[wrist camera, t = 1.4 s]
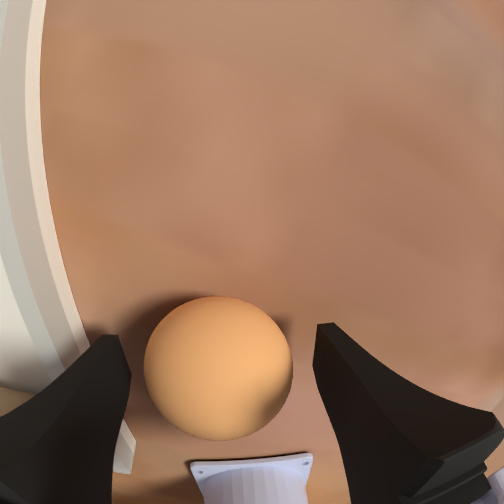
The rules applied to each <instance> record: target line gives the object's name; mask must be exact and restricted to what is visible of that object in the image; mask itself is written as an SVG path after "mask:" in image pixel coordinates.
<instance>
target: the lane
mask: <svg viewBox="0 0 504 504" xmlns="http://www.w3.org/2000/svg"><path fill="white" fill-rule="evenodd" d="M45 6H46V0H0V386H1V387H5V388H9V389H14V390H18V391H23V392H28V393H33V394H38V393H39V392H41V391H42V390H43V389H44V388H46V387H47V386H48V385H49V384H51V383H52V382H53V381H54V380H55V379H56V378H57V377H58V376H60V375H61V374H62V373H63V372H64V371H65V370H66V369H67V368H68V367H70V366H71V365H72V364H73V363H74V362H75V361H76V360H77V359H78V358H79V357H80V356H81V355H82V354H83V353H84V352H85V351H86V350H87V349H88V348H89V347H90V344H89V341H88V339H87V336H86V333H85V331H84V328H83V325H82V322H81V319H80V317H79V314H78V311H77V308H76V305H75V302H74V298H73V295H72V292H71V289H70V285H69V282H68V279H67V275H66V272H65V268H64V264H63V260H62V256H61V252H60V248H59V244H58V240H57V236H56V231H55V226H54V221H53V216H52V211H51V206H50V200H49V194H48V188H47V181H46V174H45V166H44V157H43V147H42V136H41V120H40V57H41V42H42V30H43V21H44V13H45ZM135 446H136V440H135V439H134V437H133V435H132V433H131V431H130V430H129V428H128V426H127V424H126V422H125V420H124V418H123V420H122V424H121V428H120V432H119V435H118V439H117V443H116V448H115V454H114V463H113V470H114V472H117V473H125V474H131V469H132V463H133V457H134V451H135Z"/></svg>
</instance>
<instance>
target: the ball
mask: <svg viewBox="0 0 504 504" xmlns="http://www.w3.org/2000/svg"><path fill="white" fill-rule="evenodd" d="M144 378H145V383H146V387H147V390H148V393H149V395H150V397H151V399H152V401H153V403H154V405H155V406H156V408H157V409H158V411H159V412H160V413H161V414H162V415H163V417H164V418H165V419H167V420H168V421H169V422H170V423H171V424H172V425H173V426H175V427H176V428H178V429H180V430H181V431H183V432H185V433H187V434H189V435H191V436H194V437H197V438H201V439H206V440H212V441H227V440H234V439H238V438H242V437H245V436H248V435H250V434H252V433H254V432H256V431H258V430H260V429H261V428H263V427H264V426H266V425H267V424H268V423H269V422H270V421H271V420H272V419H273V418H274V417H275V416H276V415H277V414H278V413H279V411H280V410H281V408H282V407H283V405H284V403H285V401H286V399H287V397H288V394H289V392H290V388H291V384H292V378H293V362H292V356H291V352H290V348H289V346H288V343H287V341H286V338H285V336H284V335H283V333H282V332H281V330H280V329H279V327H278V326H277V324H276V323H275V322H274V321H273V320H272V319H271V318H270V317H269V316H268V315H267V314H265V313H264V312H263V311H262V310H260V309H258V308H257V307H255V306H253V305H251V304H249V303H247V302H245V301H242V300H239V299H235V298H231V297H223V296H211V297H203V298H198V299H195V300H192V301H189V302H187V303H185V304H183V305H181V306H179V307H177V308H175V309H174V310H173V311H171V312H170V313H169V314H168V315H167V316H166V317H165V318H163V319H162V320H161V322H160V323H159V324H158V325H157V327H156V328H155V330H154V331H153V333H152V335H151V337H150V339H149V342H148V344H147V347H146V351H145V356H144Z"/></svg>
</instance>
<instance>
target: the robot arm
mask: <svg viewBox="0 0 504 504" xmlns="http://www.w3.org/2000/svg"><path fill="white" fill-rule="evenodd" d="M312 366H313V370H314V374H315V379H316V383H317V387H318V390H319V393H320V395H321V398H322V401H323V403H324V406H325V409H326V411H327V414H328V416H329V419H330V421H331V424H332V427H333V429H334V432H335V434H336V437H337V440H338V444H339V447H340V451H341V455H342V459H343V464H344V468H345V473H346V477H347V482H348V487H349V493H350V498H351V504H504V466H503V467H502V468H500V469H499V470H497V471H496V472H494V473H493V474H492V475H490V476H489V477H488V478H486V477H485V475H484V472H485V471H486V470H487V467H486V465H485V463H484V461H485V460H486V459H487V458H488V457H489V455H490V454H491V453H492V452H493V451H494V450H495V449H496V448H497V447H498V445H499V444H500V443H501V442H502V440H503V438H504V428H503V427H502V425H501V424H500V422H499V421H498V420H497V418H496V417H495V415H494V414H493V413H492V412H488V411H484V410H479V409H475V408H471V407H468V406H464V405H461V404H458V403H455V402H453V401H450V400H447V399H445V398H442V397H440V396H437V395H435V394H433V393H431V392H429V391H427V390H425V389H423V388H421V387H419V386H417V385H415V384H413V383H412V382H410V381H408V380H406V379H405V378H403V377H401V376H400V375H398V374H397V373H395V372H394V371H392V370H391V369H389V368H388V367H387V366H385V365H384V364H382V363H381V362H380V361H378V360H377V359H376V358H374V357H373V356H372V355H371V354H369V353H368V352H367V351H366V350H365V349H363V348H362V347H361V346H360V345H359V344H357V343H356V342H355V341H354V340H353V339H352V338H351V337H349V336H348V335H347V334H346V333H345V332H344V331H343V330H342V329H340V328H339V327H338V326H337V325H336V324H335V323H334V322H333V323H325V324H317V332H316V341H315V349H314V357H313V365H312ZM131 375H132V374H131V372H130V369H129V366H128V363H127V361H126V358H125V355H124V352H123V349H122V346H121V343H120V340H119V337H118V335H102V336H101V337H100V338H99V339H97V340H96V341H95V342H94V343H93V344H92V345H91V346H90V347H89V348H88V349H87V350H86V351H85V352H84V353H83V354H82V355H81V356H80V357H79V358H78V359H77V360H76V361H75V362H74V363H73V364H72V365H71V366H70V367H68V368H67V369H66V370H65V371H64V372H63V373H62V374H61V375H60V376H58V377H57V378H56V379H55V380H54V381H53V382H52V383H51V384H49V385H48V386H47V387H46V388H44V389H43V390H42V391H41V392H39V393H38V394H37V395H35V396H34V397H32V398H31V399H30V400H28V401H27V402H25V403H23V404H22V405H20V406H19V407H17V408H15V409H14V410H12V411H10V412H9V413H7V414H5V415H3V416H1V417H0V504H112V503H111V493H112V473H113V463H114V454H115V448H116V443H117V439H118V435H119V432H120V428H121V424H122V420H123V416H124V413H125V409H126V405H127V401H128V397H129V390H130V383H131ZM312 462H313V455H312V454H311V453H302V454H296V455H289V456H281V457H272V458H262V459H251V460H235V461H197V462H192V463H191V464H190V469H191V471H192V474H193V476H194V478H195V480H196V482H197V485H198V487H199V489H200V491H201V493H202V495H203V497H204V504H308V500H307V495H306V491H305V486H306V482H307V479H308V476H309V472H310V469H311V466H312Z"/></svg>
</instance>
